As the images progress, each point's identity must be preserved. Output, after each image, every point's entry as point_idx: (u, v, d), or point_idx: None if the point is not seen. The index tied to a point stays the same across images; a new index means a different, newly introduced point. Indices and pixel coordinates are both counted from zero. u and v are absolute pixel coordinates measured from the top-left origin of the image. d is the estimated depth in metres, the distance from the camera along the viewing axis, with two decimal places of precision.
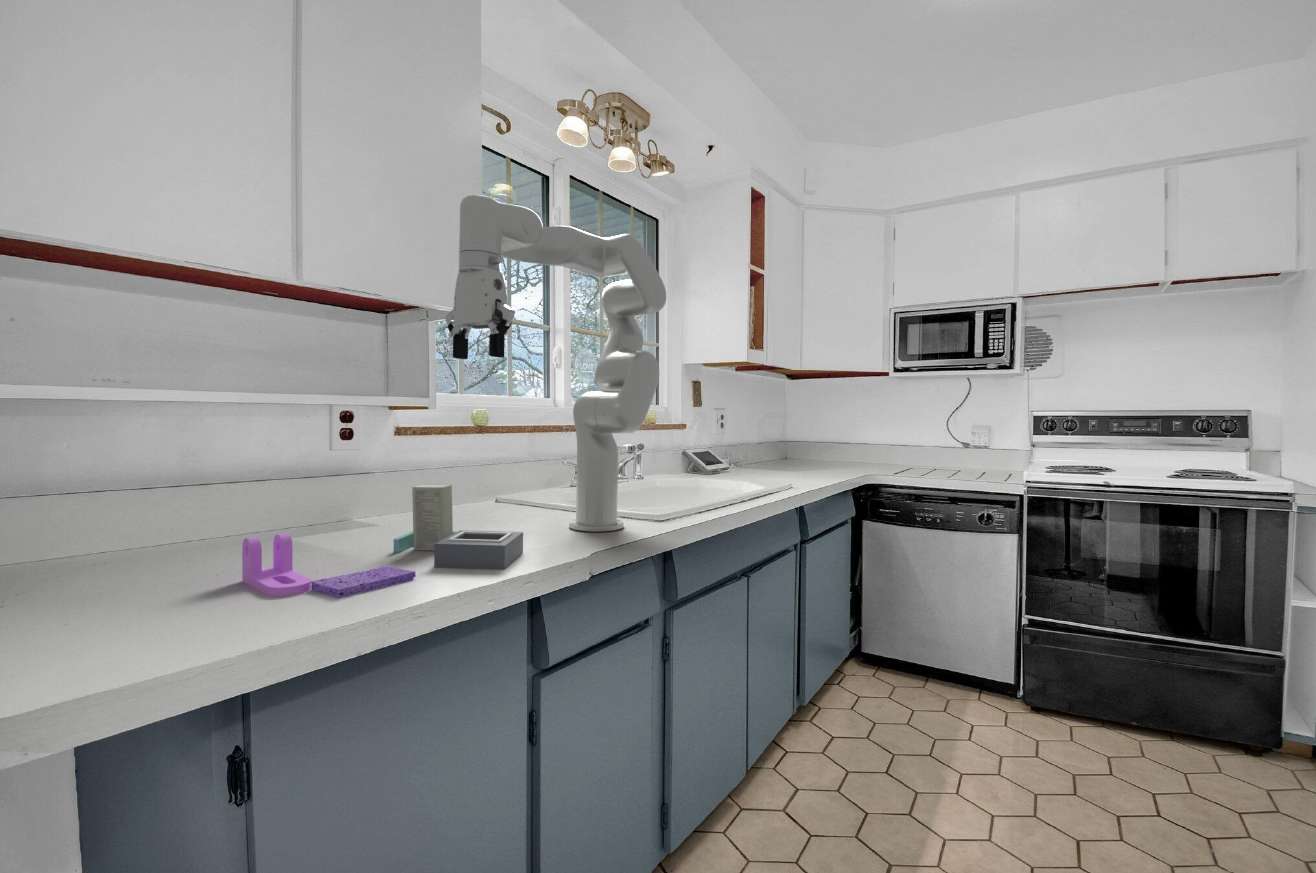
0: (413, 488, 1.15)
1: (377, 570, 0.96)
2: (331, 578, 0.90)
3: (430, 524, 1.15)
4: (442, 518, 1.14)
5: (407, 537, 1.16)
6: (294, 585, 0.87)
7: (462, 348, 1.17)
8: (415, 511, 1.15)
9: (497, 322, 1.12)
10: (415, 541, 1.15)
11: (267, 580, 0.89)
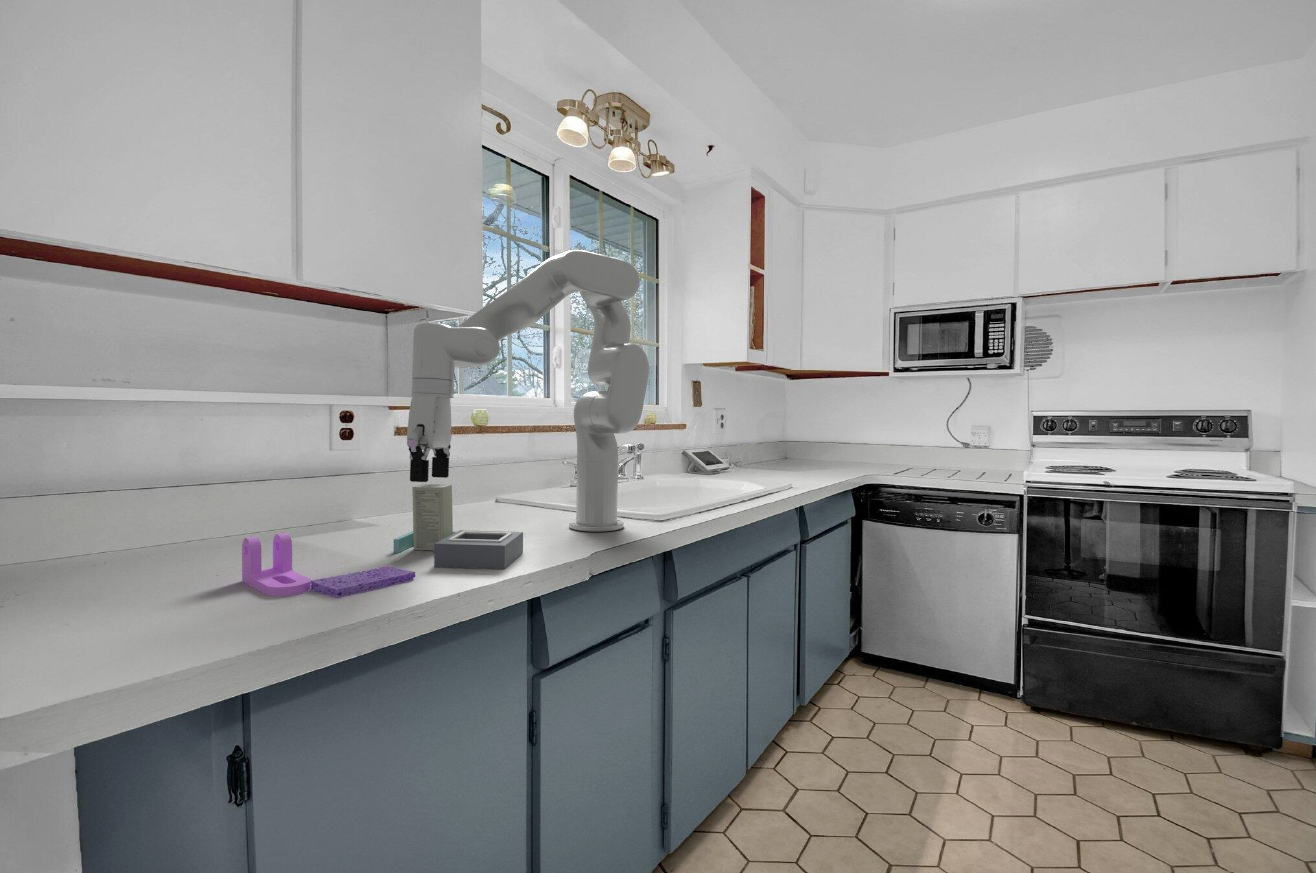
0: (413, 488, 1.15)
1: (378, 570, 0.96)
2: (331, 578, 0.91)
3: (430, 524, 1.15)
4: (442, 518, 1.14)
5: (407, 537, 1.16)
6: (294, 585, 0.87)
7: None
8: (415, 511, 1.15)
9: None
10: (415, 541, 1.15)
11: (267, 580, 0.89)
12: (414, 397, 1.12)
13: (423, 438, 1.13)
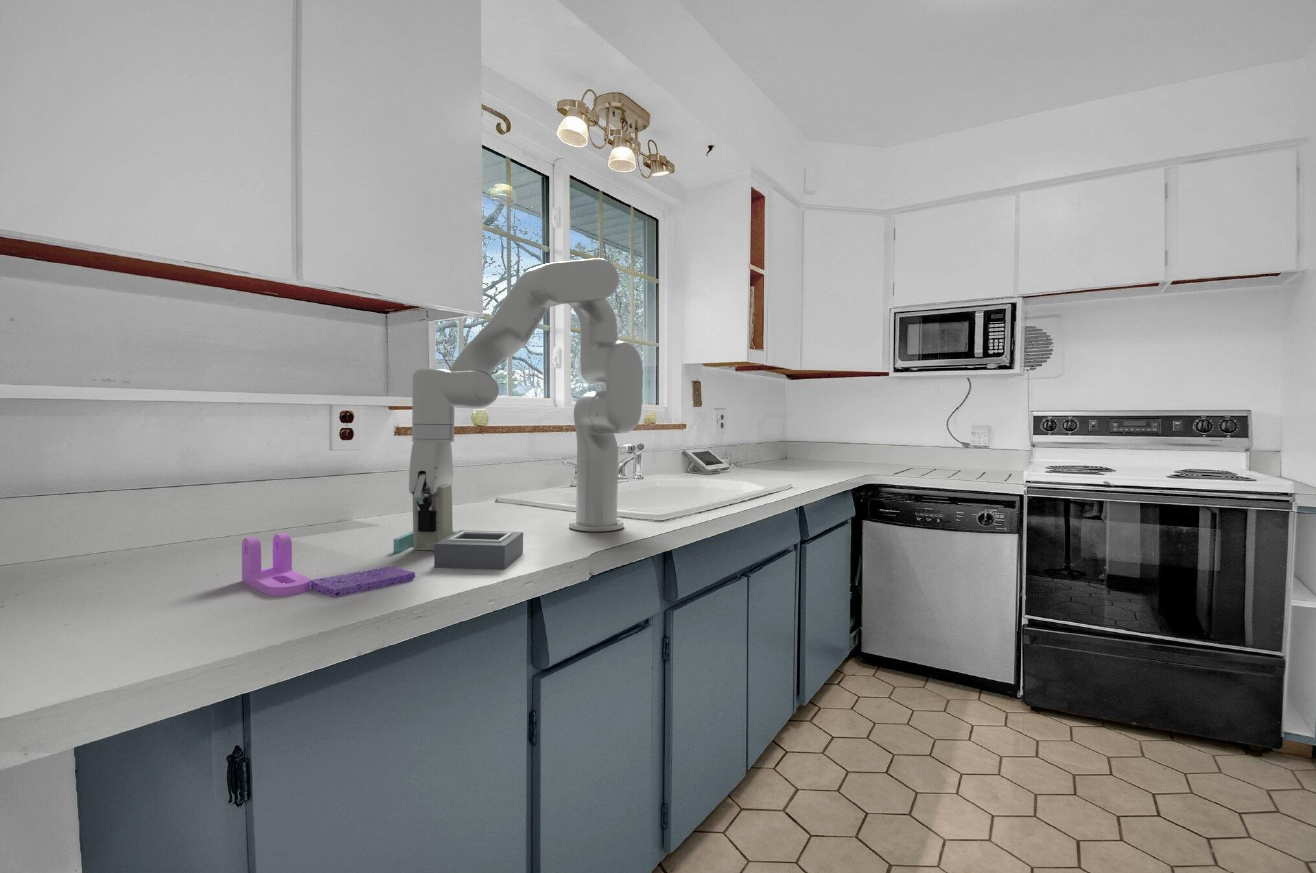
0: None
1: (378, 570, 0.96)
2: (331, 577, 0.91)
3: None
4: (442, 518, 1.14)
5: (407, 537, 1.16)
6: (294, 585, 0.87)
7: None
8: (415, 511, 1.15)
9: None
10: (414, 540, 1.15)
11: (267, 580, 0.89)
12: (415, 444, 1.12)
13: None
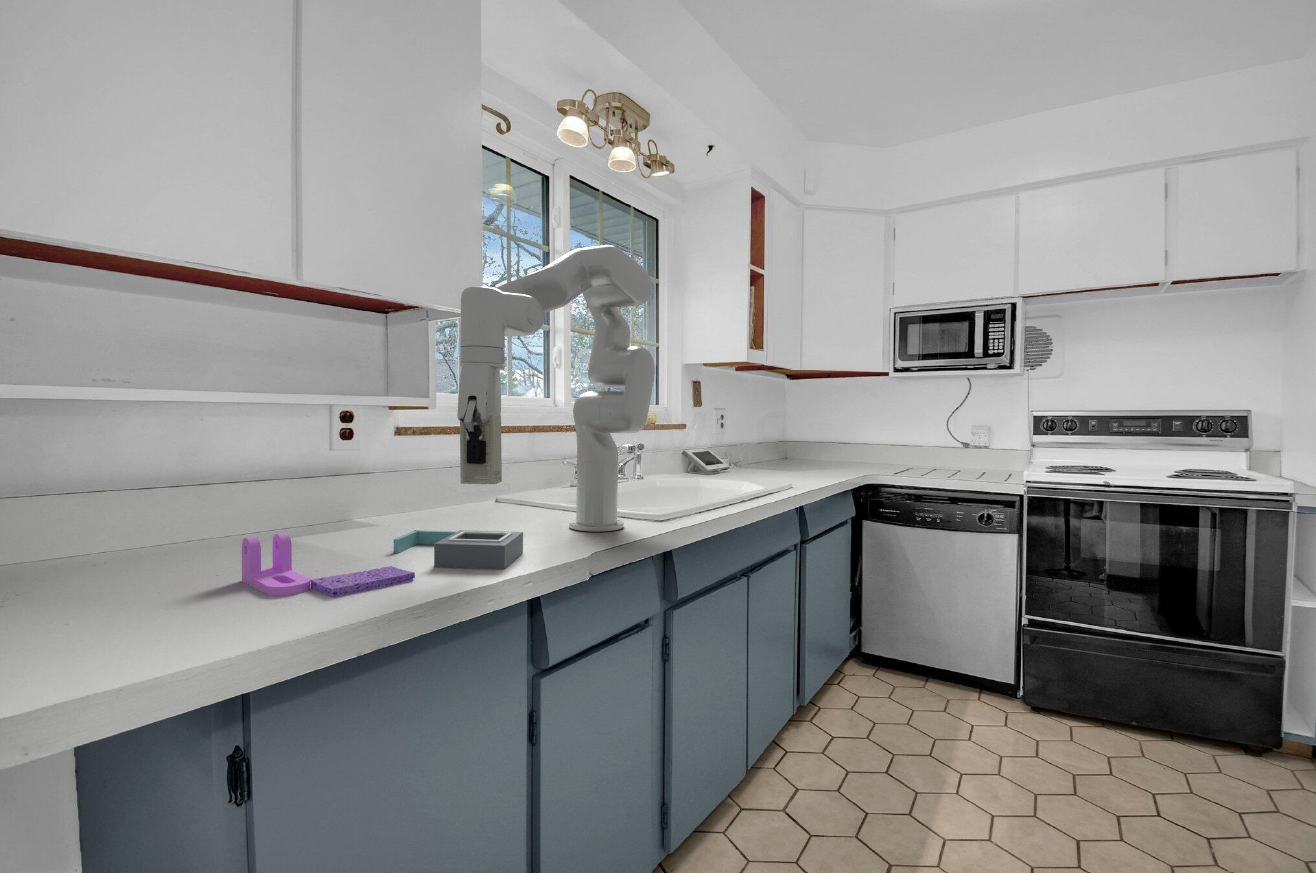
0: None
1: (379, 570, 0.96)
2: (331, 577, 0.91)
3: None
4: (492, 449, 1.06)
5: (407, 537, 1.16)
6: (293, 584, 0.87)
7: None
8: (463, 441, 1.06)
9: None
10: (462, 474, 1.06)
11: (266, 580, 0.89)
12: (464, 366, 1.03)
13: None
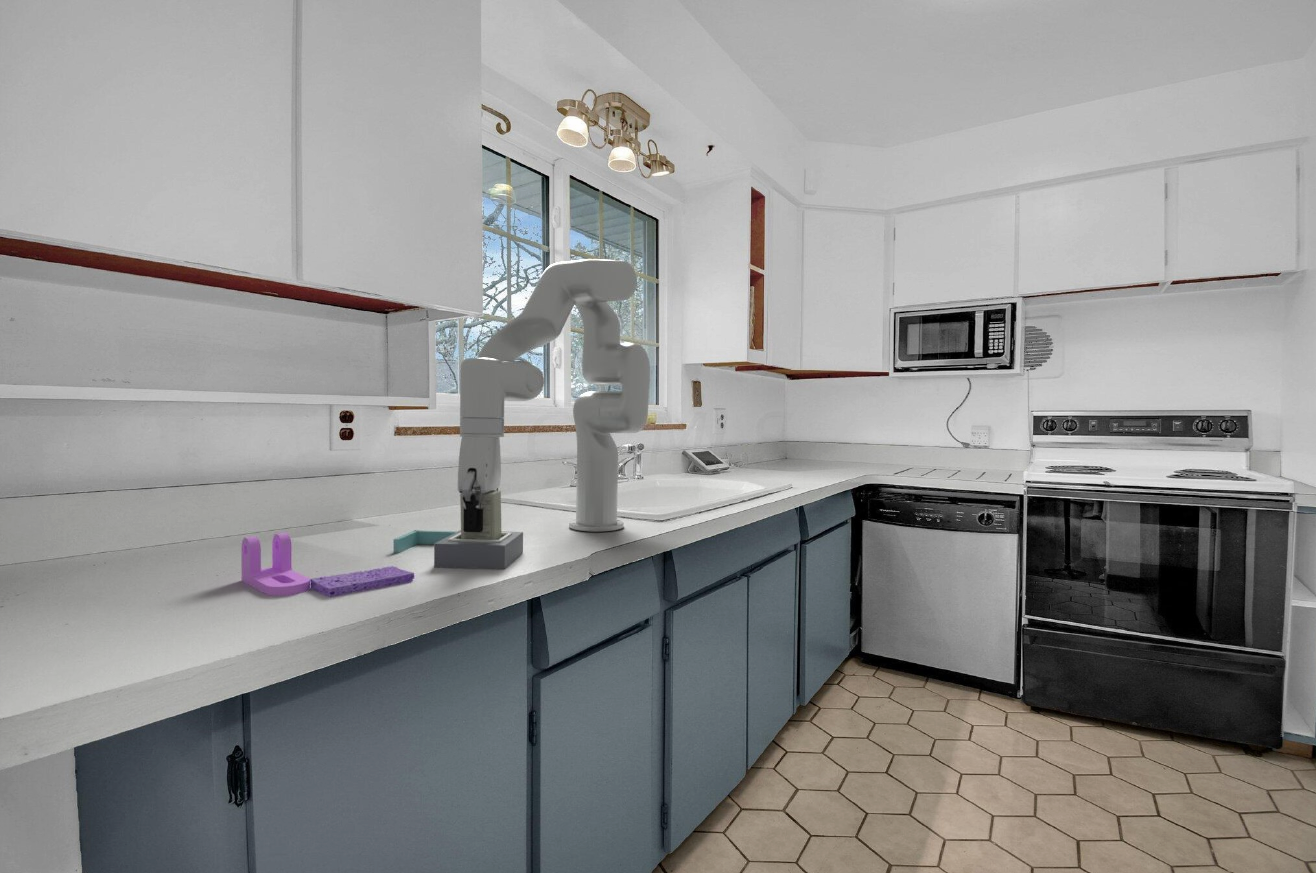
0: (461, 495, 1.06)
1: (380, 570, 0.96)
2: (331, 576, 0.91)
3: (480, 533, 1.06)
4: (493, 527, 1.06)
5: (407, 537, 1.16)
6: (293, 584, 0.87)
7: None
8: (463, 520, 1.06)
9: None
10: None
11: (266, 579, 0.89)
12: (464, 439, 1.04)
13: (474, 482, 1.05)
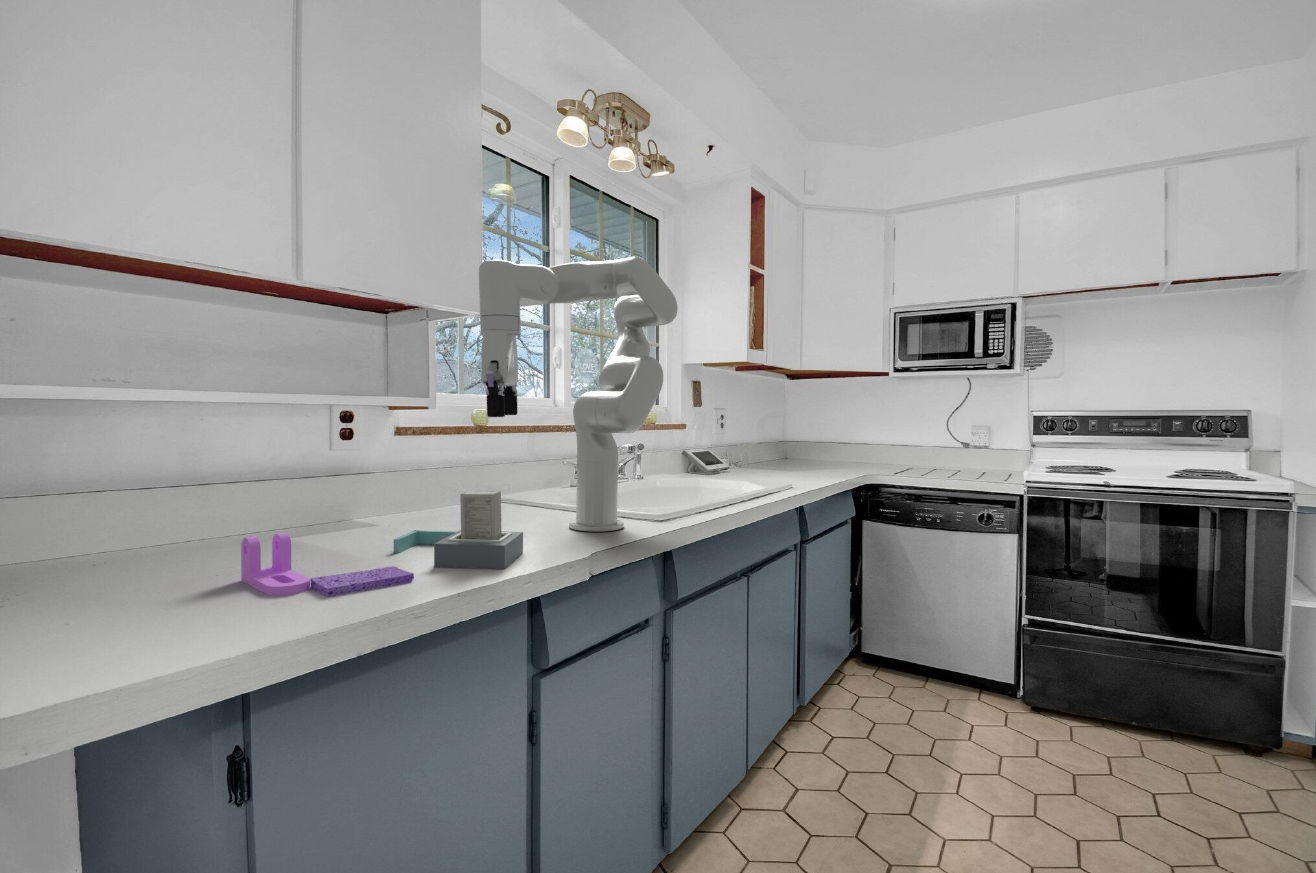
0: (461, 495, 1.06)
1: (380, 570, 0.96)
2: (331, 576, 0.91)
3: (480, 533, 1.06)
4: (493, 527, 1.06)
5: (407, 537, 1.16)
6: (293, 584, 0.87)
7: None
8: (463, 520, 1.06)
9: None
10: None
11: (266, 579, 0.89)
12: (486, 334, 1.13)
13: (496, 374, 1.15)
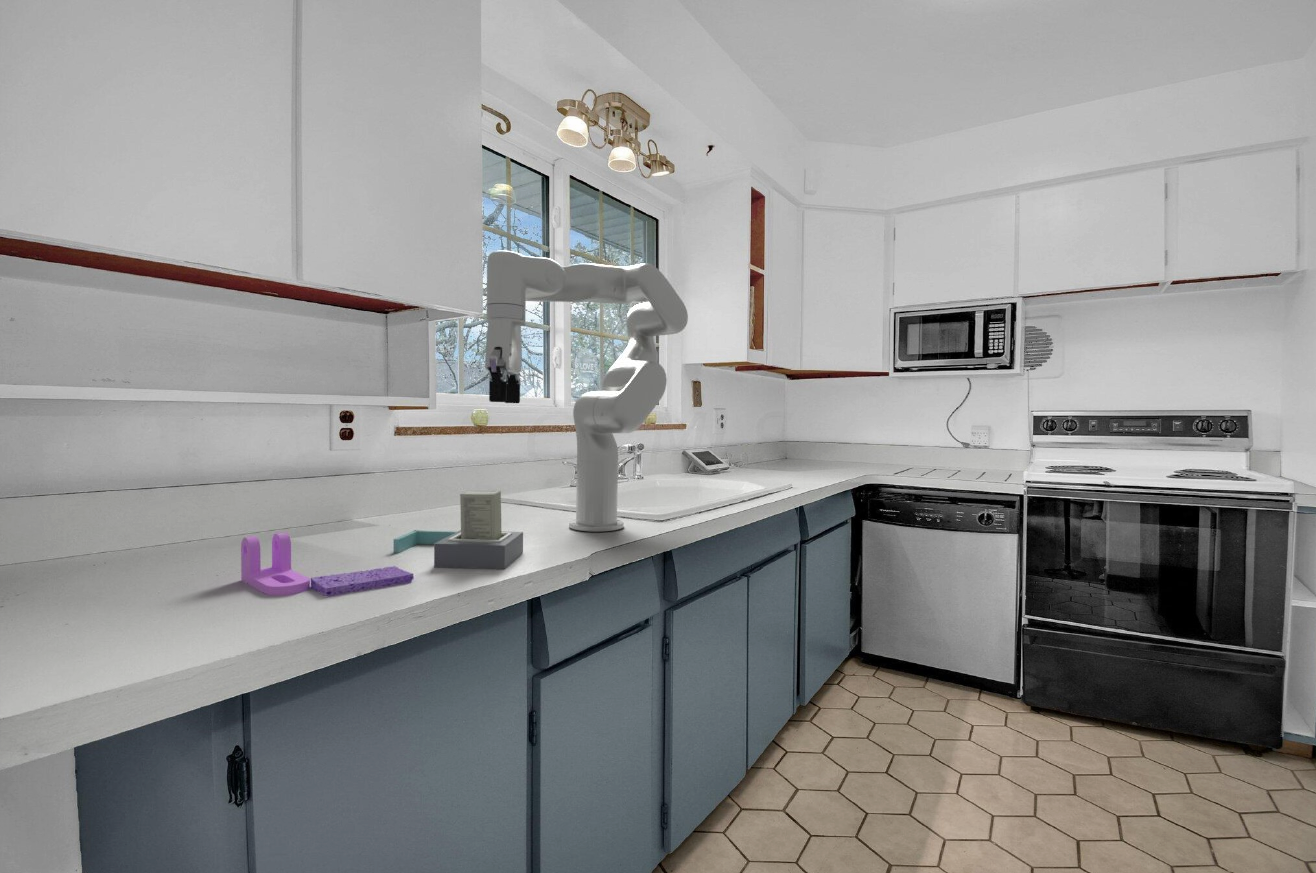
0: (461, 495, 1.06)
1: (381, 570, 0.96)
2: (331, 576, 0.92)
3: (480, 534, 1.06)
4: (493, 527, 1.06)
5: (407, 537, 1.16)
6: (293, 584, 0.87)
7: None
8: (463, 520, 1.06)
9: None
10: None
11: (266, 579, 0.89)
12: (491, 321, 1.17)
13: (499, 361, 1.18)
